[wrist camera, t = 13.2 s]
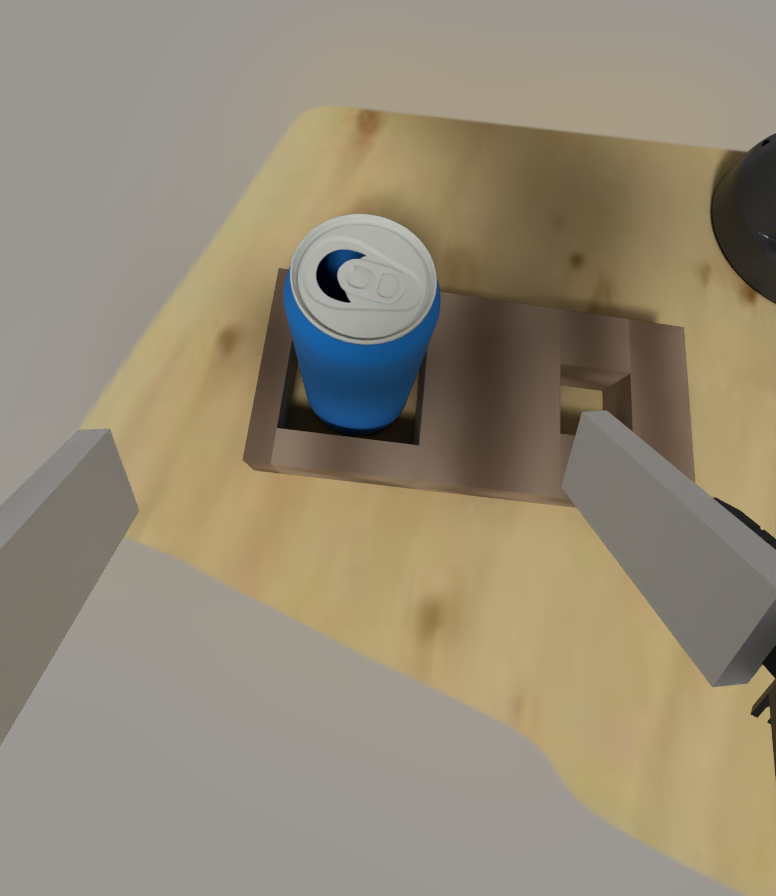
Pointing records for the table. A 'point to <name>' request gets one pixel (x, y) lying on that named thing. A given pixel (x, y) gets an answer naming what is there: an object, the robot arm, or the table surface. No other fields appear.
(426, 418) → the hole board
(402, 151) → the table surface
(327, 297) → the beverage can
